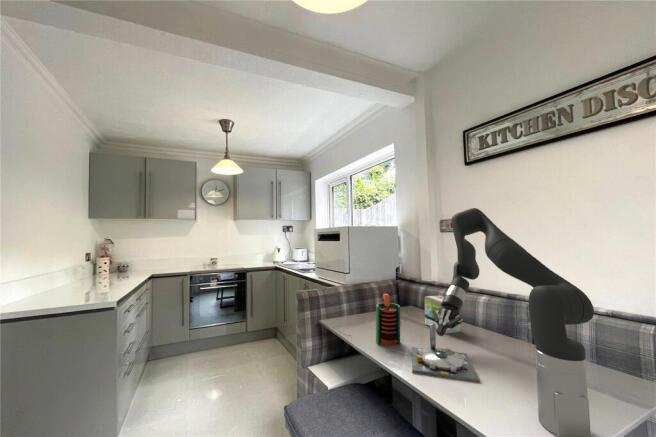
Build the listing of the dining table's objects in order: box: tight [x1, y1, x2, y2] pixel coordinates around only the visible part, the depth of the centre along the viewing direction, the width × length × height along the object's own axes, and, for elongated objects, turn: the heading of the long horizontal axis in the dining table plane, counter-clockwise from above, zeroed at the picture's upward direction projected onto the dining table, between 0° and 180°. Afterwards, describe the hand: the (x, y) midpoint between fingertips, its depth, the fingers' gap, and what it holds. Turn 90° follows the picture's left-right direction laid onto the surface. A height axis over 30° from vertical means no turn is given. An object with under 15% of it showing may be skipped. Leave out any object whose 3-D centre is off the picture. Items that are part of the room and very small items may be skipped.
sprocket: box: [417, 324, 468, 372], centre depth 97 cm, size 17×17×10 cm
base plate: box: [411, 346, 480, 383], centre depth 97 cm, size 20×20×1 cm
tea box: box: [424, 295, 462, 334], centre depth 137 cm, size 15×10×15 cm
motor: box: [375, 293, 401, 347], centre depth 118 cm, size 10×9×20 cm
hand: (439, 334), depth 107 cm, fingers closed
